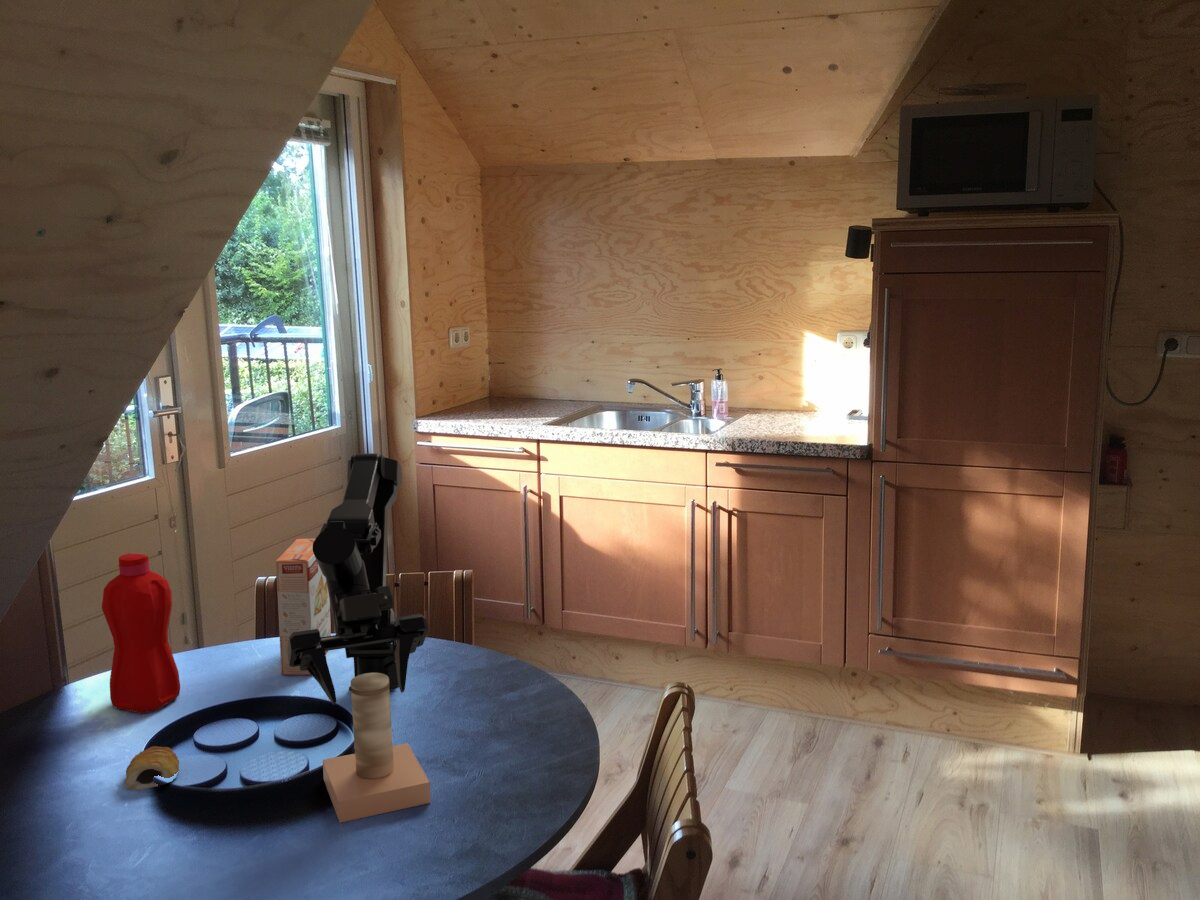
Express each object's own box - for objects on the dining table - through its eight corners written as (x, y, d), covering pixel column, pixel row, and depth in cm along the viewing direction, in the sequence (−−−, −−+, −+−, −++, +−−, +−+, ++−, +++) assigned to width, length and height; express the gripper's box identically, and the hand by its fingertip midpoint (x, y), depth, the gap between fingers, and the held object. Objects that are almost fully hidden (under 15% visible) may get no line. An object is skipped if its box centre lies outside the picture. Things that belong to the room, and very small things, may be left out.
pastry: (134, 761, 150) (132, 737, 150) (184, 756, 152) (182, 731, 152) (124, 794, 142) (121, 768, 141) (177, 787, 143) (175, 762, 143)
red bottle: (197, 690, 174) (185, 546, 169) (148, 718, 164) (134, 566, 159) (152, 682, 177) (140, 541, 172) (102, 709, 167) (87, 559, 162)
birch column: (348, 774, 140) (342, 684, 138) (371, 758, 145) (366, 670, 143) (378, 782, 138) (373, 690, 136) (401, 765, 143) (396, 676, 140)
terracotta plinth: (339, 822, 134) (338, 801, 134) (323, 779, 145) (322, 759, 145) (430, 802, 139) (429, 782, 139) (408, 762, 150) (407, 743, 149)
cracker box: (315, 676, 179) (308, 560, 175) (280, 676, 179) (272, 560, 175) (334, 645, 193) (328, 536, 189) (301, 645, 193) (295, 536, 189)
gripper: (285, 576, 139) (302, 685, 131) (422, 559, 146) (446, 661, 138) (280, 613, 147) (296, 718, 140) (410, 595, 155) (432, 694, 147)
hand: (369, 697), depth 141 cm, fingers open, 9 cm apart
